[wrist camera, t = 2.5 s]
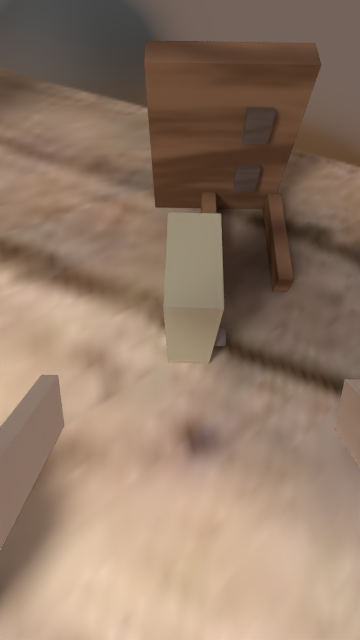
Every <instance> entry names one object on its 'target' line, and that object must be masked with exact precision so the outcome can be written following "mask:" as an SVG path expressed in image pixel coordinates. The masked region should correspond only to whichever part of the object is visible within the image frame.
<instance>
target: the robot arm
mask: <svg viewBox="0 0 360 640" xmlns="http://www.w3.org/2000/svg"><path fill="white" fill-rule="evenodd" d="M63 427H64V420H63V412H62V403H61V395H60V387H59V379H58V375H41V376H40V377H39V379H38V380H37V381H36V383H35V384H34V385H33V386H32V388H31V389H30V390H29V392H28V393H27V394H26V395H25V397H24V398H23V399H22V401H21V402H20V403H19V404H18V406H17V407H16V408H15V410H14V411H13V412H12V413H11V415H10V416H9V417H8V419H7V420H6V421H5V422H4V424H3V425H2V426H1V428H0V551H1V549H2V547H3V545H4V543H5V541H6V539H7V537H8V535H9V533H10V531H11V529H12V527H13V525H14V523H15V521H16V519H17V517H18V515H19V513H20V511H21V509H22V507H23V505H24V504H25V502H26V500H27V498H28V496H29V494H30V492H31V490H32V488H33V486H34V484H35V482H36V480H37V478H38V476H39V474H40V472H41V470H42V468H43V466H44V464H45V462H46V460H47V458H48V456H49V454H50V453H51V451H52V449H53V447H54V445H55V443H56V441H57V439H58V437H59V435H60V433H61V431H62V429H63ZM335 430H336V432H337V434H338V435H339V437H340V438H341V440H342V441H343V443H344V444H345V446H346V447H347V449H348V450H349V452H350V454H351V455H352V457H353V458H354V460H355V461H356V463H357V464H358V466H359V467H360V380H359V379H345V381H344V386H343V391H342V396H341V401H340V406H339V411H338V416H337V421H336V426H335Z"/></svg>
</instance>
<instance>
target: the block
mask: <svg viewBox="0 0 360 640" xmlns="http://www.w3.org/2000/svg"><path fill="white" fill-rule="evenodd" d="M163 307H164V320H165V333H166V345H167V358H168V363H201V364H209V362H210V358H211V354H212V351H213V347H214V346H225V345H226V328H219V325H220V322H221V318H222V314H223V311H224V288H223V257H222V227H221V214H215V213H174V212H168V225H167V245H166V265H165V285H164V306H163Z"/></svg>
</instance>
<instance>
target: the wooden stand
mask: <svg viewBox="0 0 360 640" xmlns="http://www.w3.org/2000/svg"><path fill="white" fill-rule="evenodd" d="M144 66H145V79H146V92H147V105H148V117H149V130H150V143H151V156H152V168H153V181H154V194H155V207H171V208H201V213H215V214H216V208H247V209H263V214H264V223H265V231H266V240H267V248H268V257H269V265H270V273H271V282H272V290H273V292H287V290H288V289H289V287H290V285H291V283H292V282H293V280H294V278H293V271H292V264H291V258H290V251H289V244H288V238H287V231H286V224H285V218H284V211H283V204H282V198H281V193H277V190H278V188H279V185H280V182H281V179H282V176H283V173H284V170H285V167H286V165H287V162H288V159H289V156H290V153H291V150H292V147H293V145H294V142H295V139H296V136H297V133H298V130H299V127H300V124H301V122H302V119H303V116H304V113H305V109H306V107H307V104H308V101H309V99H310V96H311V93H312V90H313V87H314V84H315V81H316V78H317V76H318V73H319V70H320V67H321V62H320V59H319V55H318V51H317V47H316V44H315V43H270V42H269V43H267V42H203V41H201V42H200V41H146V47H145V59H144Z"/></svg>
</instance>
